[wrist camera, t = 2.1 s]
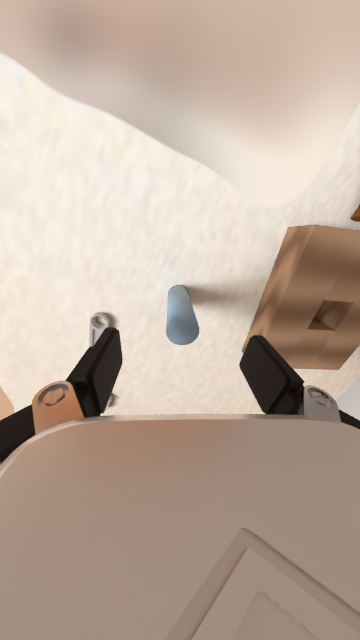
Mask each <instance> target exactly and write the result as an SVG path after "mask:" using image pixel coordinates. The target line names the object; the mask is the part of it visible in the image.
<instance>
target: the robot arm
mask: <svg viewBox="0 0 360 640" xmlns="http://www.w3.org/2000/svg"><path fill="white" fill-rule="evenodd" d="M121 365H122V351H121V343H120V335H119V330H116V328H112V327H106V328H105V329H104V331H103V332H102V334H101V335H100V337H99V338H98V340H97V341H96V343H95V344H94V346H91V347H89V348H88V350H87V351H86V353H85V354H84V355H83V357H82V358H81V360H80V361H79V362H78V364H77V365H76V367H75V368H74V369H73V371H72V372H71V374H70V375H69V376H68V378H67V379H66V381H58V382H54V383H51V384H49V385H47V386H45V387H44V388H42V389H41V390H40V391H39V392H38V393H37V394H36V395H35V396H34V398H33V400H32V404H31V405H29V406H28V407H26V408H24V409H22V410H20V411H18V412H16V413H14V414H12V415H10V416H8V417H6V418H4V419H3V420H1V421H0V640H360V421H359V420H358V419H355V418H354V417H352V416H350V415H348V414H347V413H344V412H342V411H341V410H339V409H338V406H337V403H336V401H335V400H334V399H333V398H332V397H331V396H330V395H329V394H328V393H326V392H325V391H324V390H322V389H320V388H318V387H315V386H311V385H309V386H306V387H304V386H303V385H302V384H303V383H304V381H303V380H302V378H301V377H300V376H299V375H298V374H297V373H296V372H295V371H294V370H293V369H292V367H291V366H290V365H289V364H288V363H287V362H286V361H285V360H284V359H283V357H282V356H281V355H280V354H279V353H278V352H277V351H276V350H275V349H274V347H273V346H272V345H271V344H270V343H269V342H268V341H267V340H266V339H265V337H264V336H262V335H253V336H252V337H250V339H249V342H248V344H247V347H246V349H245V352H244V354H243V356H242V359H241V361H240V369H241V371H242V373H243V375H244V376H245V378H246V380H247V382H248V384H249V386H250V388H251V390H252V392H253V394H254V396H255V398H256V400H257V402H258V404H259V405H260V407H261V409H262V411H263V412H264V413H265V414H177V415H111V416H100V414H101V413H104V411H105V409H106V406H107V403H108V401H109V398H110V395H111V392H112V390H113V387H114V384H115V382H116V379H117V376H118V373H119V371H120V368H121Z"/></svg>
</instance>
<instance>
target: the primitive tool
mask: <svg viewBox="0 0 360 640" xmlns="http://www.w3.org/2000/svg"><path fill="white" fill-rule="evenodd" d="M351 219H352V220H355V221H360V205H359V208H358V209H357V210H356V211H355V213H354V214H353V215H352V217H351Z"/></svg>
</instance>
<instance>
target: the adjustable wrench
mask: <svg viewBox="0 0 360 640" xmlns="http://www.w3.org/2000/svg"><path fill="white" fill-rule="evenodd" d="M97 316H100V317H102V318H104V319H105V320H106V324H104V325H101V324H99V323H97V322H96V320H95V318H96V317H97ZM106 327H110V318H109V317H108V315H106V314H105V313H102V312H98V313H95V314H94V315H93V316H92V317H91V318H90V346H89V347H91V346H94V344H95V343H96V341H97V340H98V338H99V337H100V335H101V334H102V332H103V331H104V329H105V328H106ZM112 398H113V396H112V395H110V398H109V401H108V403H107V406H106V409H105V411H106V410H107V409H108V407H109V404H110V402H111V401H112ZM105 411H104V412H105Z"/></svg>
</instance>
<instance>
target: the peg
mask: <svg viewBox="0 0 360 640" xmlns="http://www.w3.org/2000/svg"><path fill="white" fill-rule="evenodd" d="M166 334H167V337H168V339H169V340H170V341H171V342H173V343H175V344H178V345H186V344H189V343H192V342H193V341H194V340H195V339H196V338H197V337H198V335H199V326H198V323H197V320H196V317H195V314H194V310H193V307H192V304H191V301H190V297H189V294H188V291H187V289H186V288H185V287H183V286H181V285H176V286H173V287H172V288H171V289H170V290H169V292H168V307H167V327H166Z"/></svg>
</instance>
